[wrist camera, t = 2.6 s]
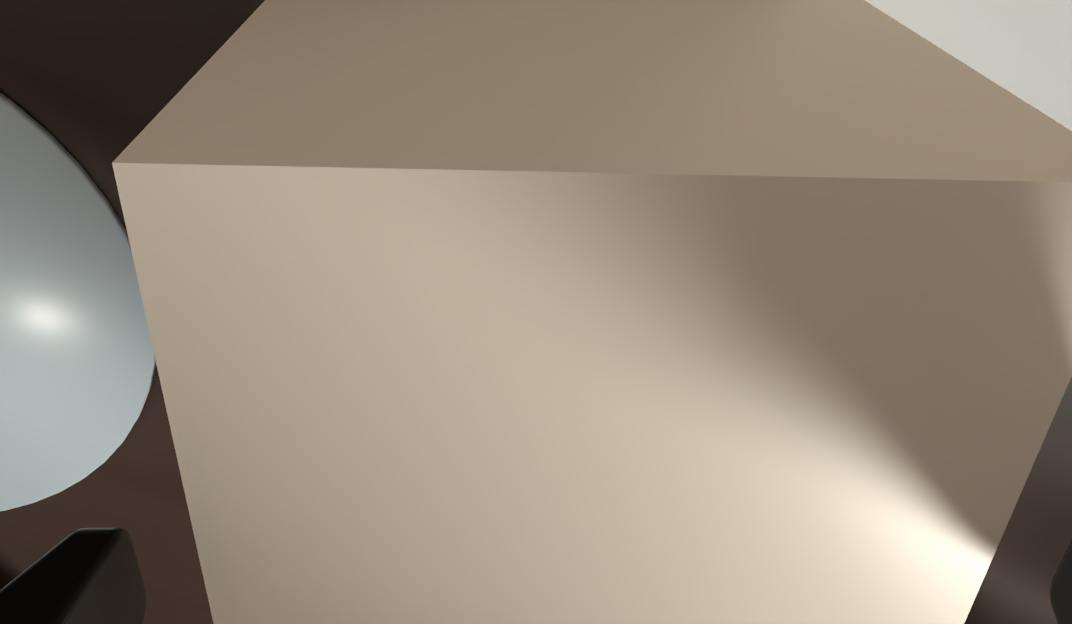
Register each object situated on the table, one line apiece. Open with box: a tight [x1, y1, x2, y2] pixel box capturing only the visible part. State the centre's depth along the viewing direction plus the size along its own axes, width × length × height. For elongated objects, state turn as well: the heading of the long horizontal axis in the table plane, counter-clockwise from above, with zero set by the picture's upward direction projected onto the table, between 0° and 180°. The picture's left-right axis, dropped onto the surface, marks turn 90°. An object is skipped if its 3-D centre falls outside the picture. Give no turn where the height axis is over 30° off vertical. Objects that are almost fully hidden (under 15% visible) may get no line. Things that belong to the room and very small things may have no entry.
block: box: [112, 0, 1072, 624], centre depth 12 cm, size 8×8×8 cm
